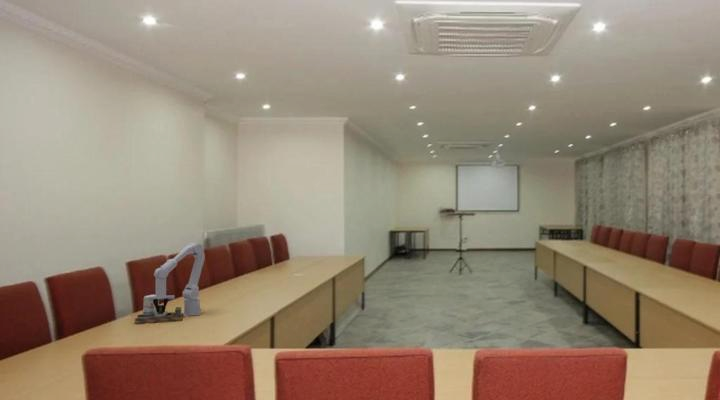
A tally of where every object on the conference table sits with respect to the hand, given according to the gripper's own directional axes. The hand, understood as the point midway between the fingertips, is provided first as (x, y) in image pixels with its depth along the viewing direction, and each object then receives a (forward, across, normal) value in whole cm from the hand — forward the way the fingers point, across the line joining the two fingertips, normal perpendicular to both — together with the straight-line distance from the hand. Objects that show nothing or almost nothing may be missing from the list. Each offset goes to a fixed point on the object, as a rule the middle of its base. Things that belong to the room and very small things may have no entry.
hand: (160, 311), depth 265 cm
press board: (+5, 0, 0) cm, 5 cm away
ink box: (+5, -7, +16) cm, 18 cm away
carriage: (+3, 0, 0) cm, 3 cm away
